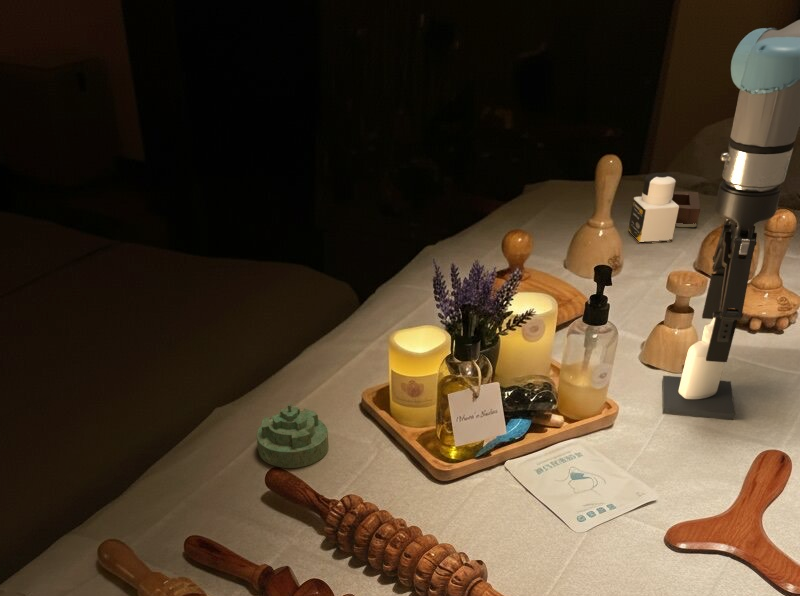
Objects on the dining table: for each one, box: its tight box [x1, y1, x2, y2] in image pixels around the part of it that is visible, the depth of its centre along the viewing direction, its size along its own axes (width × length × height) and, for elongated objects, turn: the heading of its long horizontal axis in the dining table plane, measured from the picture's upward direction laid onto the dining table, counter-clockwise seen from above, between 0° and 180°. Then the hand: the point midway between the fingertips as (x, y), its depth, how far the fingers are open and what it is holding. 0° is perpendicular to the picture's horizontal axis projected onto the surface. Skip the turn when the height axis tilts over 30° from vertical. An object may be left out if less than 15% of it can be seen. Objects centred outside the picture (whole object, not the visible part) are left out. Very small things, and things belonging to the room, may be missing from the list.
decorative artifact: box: [256, 403, 330, 469], centre depth 122 cm, size 10×7×10 cm
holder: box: [672, 190, 701, 225], centre depth 188 cm, size 11×11×4 cm
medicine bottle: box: [627, 172, 679, 243], centre depth 178 cm, size 7×7×12 cm
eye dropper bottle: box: [679, 317, 726, 399], centre depth 127 cm, size 4×6×12 cm
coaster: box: [661, 375, 736, 421], centre depth 131 cm, size 10×10×1 cm
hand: (713, 338), depth 125 cm, fingers open, 13 cm apart
